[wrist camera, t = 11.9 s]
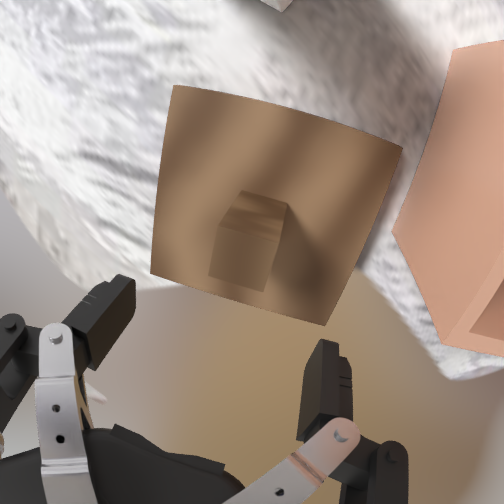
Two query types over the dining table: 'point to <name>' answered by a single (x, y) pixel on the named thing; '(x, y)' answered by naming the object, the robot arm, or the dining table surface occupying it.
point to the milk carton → (278, 4)
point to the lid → (265, 201)
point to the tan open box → (462, 205)
